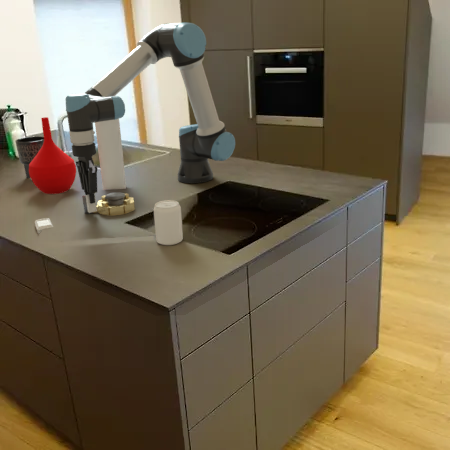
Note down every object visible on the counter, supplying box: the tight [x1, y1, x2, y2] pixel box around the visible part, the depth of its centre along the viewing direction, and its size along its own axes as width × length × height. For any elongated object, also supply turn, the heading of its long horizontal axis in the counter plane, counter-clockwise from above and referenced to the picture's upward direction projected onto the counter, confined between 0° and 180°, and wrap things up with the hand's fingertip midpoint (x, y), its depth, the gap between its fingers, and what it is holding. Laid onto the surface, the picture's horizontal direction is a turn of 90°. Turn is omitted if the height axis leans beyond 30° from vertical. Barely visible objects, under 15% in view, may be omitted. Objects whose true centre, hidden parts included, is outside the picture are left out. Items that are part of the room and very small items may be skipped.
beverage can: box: [153, 199, 184, 246], centre depth 156 cm, size 8×8×12 cm
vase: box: [29, 117, 77, 195], centre depth 208 cm, size 18×18×30 cm
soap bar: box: [34, 217, 54, 235], centre depth 172 cm, size 5×9×3 cm, turn 25°
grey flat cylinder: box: [105, 191, 125, 206], centre depth 182 cm, size 22×20×7 cm
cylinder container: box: [94, 118, 127, 191], centre depth 209 cm, size 9×9×30 cm
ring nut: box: [81, 192, 136, 217], centre depth 182 cm, size 17×12×6 cm
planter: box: [15, 135, 44, 179], centre depth 230 cm, size 13×13×18 cm
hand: (92, 211), depth 177 cm, fingers closed
